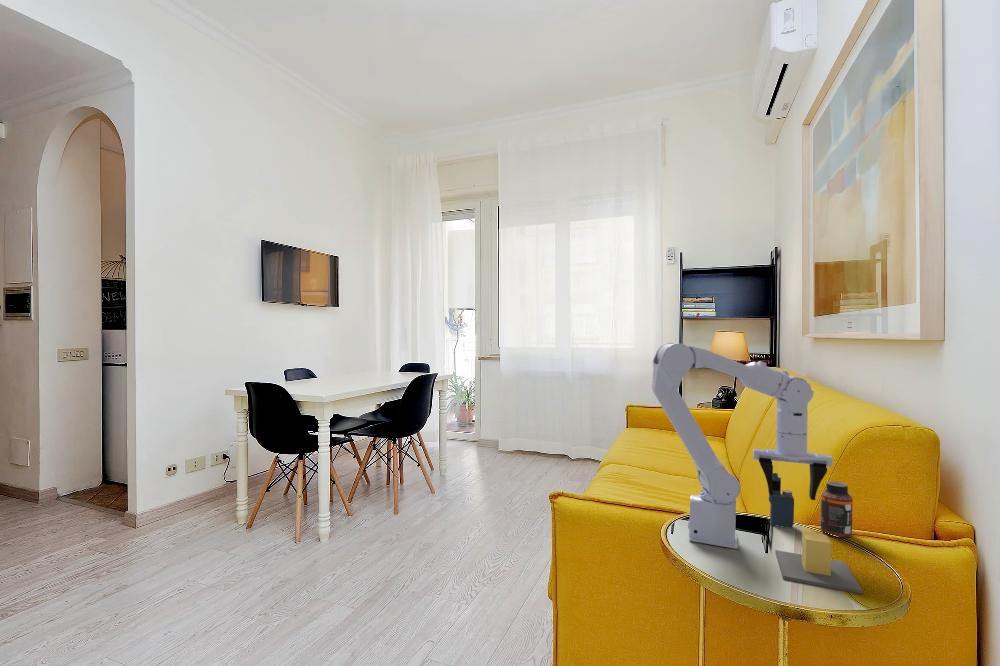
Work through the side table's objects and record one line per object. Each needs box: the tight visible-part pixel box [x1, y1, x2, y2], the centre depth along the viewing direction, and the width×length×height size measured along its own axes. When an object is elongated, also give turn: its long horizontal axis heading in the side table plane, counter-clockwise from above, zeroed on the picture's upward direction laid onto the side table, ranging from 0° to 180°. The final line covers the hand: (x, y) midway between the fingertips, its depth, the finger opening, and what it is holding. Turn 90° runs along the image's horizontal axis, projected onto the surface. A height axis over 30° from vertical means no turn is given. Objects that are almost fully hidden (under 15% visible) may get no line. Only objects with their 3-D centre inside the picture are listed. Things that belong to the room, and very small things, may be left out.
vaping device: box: [768, 472, 795, 528], centre depth 117 cm, size 3×5×12 cm, turn 67°
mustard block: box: [801, 531, 832, 576], centre depth 94 cm, size 4×4×6 cm
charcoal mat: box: [774, 549, 863, 595], centre depth 94 cm, size 12×12×1 cm
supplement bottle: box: [820, 481, 854, 539], centre depth 113 cm, size 6×6×11 cm
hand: (791, 496), depth 106 cm, fingers open, 7 cm apart
